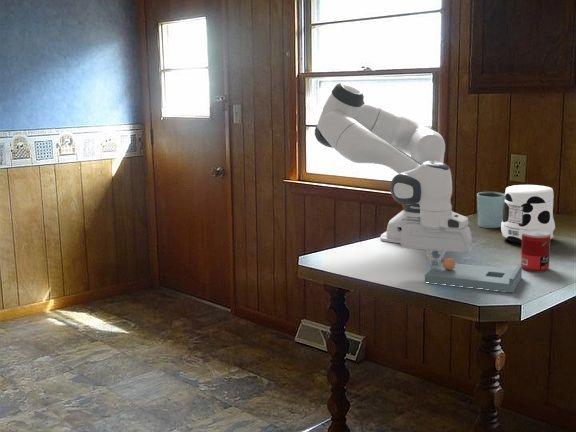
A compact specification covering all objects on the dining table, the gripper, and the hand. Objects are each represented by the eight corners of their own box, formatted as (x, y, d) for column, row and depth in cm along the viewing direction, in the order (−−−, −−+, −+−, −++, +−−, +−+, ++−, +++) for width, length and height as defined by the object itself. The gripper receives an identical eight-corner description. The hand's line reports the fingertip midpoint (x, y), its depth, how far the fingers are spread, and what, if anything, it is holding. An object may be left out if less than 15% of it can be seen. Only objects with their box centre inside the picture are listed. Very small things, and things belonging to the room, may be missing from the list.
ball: (441, 270, 197) (441, 259, 196) (444, 267, 200) (444, 256, 200) (453, 272, 196) (453, 260, 195) (456, 268, 199) (456, 257, 198)
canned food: (545, 273, 199) (547, 236, 197) (517, 270, 203) (518, 234, 201) (551, 266, 206) (553, 230, 203) (524, 263, 210) (525, 228, 207)
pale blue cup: (474, 222, 264) (475, 191, 261) (502, 222, 262) (502, 191, 260) (478, 228, 254) (478, 196, 251) (506, 228, 252) (507, 196, 250)
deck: (425, 283, 195) (425, 269, 194) (438, 269, 207) (438, 256, 206) (512, 293, 184) (513, 278, 183) (521, 278, 196) (522, 264, 195)
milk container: (550, 234, 242) (552, 184, 238) (557, 247, 225) (560, 193, 221) (499, 233, 245) (500, 184, 242) (502, 246, 229) (504, 193, 225)
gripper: (397, 218, 199) (397, 264, 201) (468, 223, 189) (467, 271, 192) (404, 213, 204) (404, 258, 207) (473, 218, 195) (472, 265, 197)
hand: (435, 264), depth 199 cm, fingers closed
